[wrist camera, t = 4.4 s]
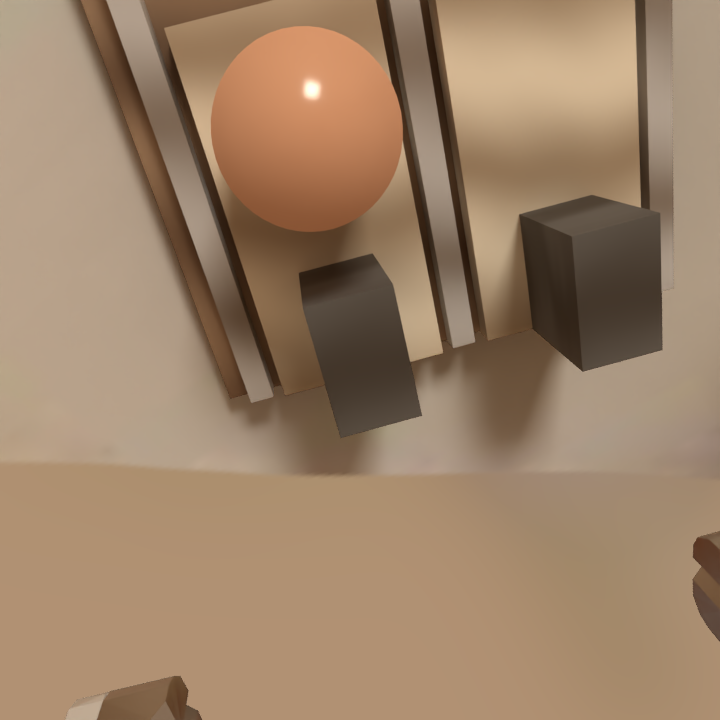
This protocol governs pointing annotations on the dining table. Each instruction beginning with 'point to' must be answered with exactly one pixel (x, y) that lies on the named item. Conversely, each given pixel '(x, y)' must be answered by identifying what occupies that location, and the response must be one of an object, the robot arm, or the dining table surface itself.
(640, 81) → the lane board
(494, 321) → the strip
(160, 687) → the robot arm
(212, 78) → the strip
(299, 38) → the orange rounded piece
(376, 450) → the dining table surface
